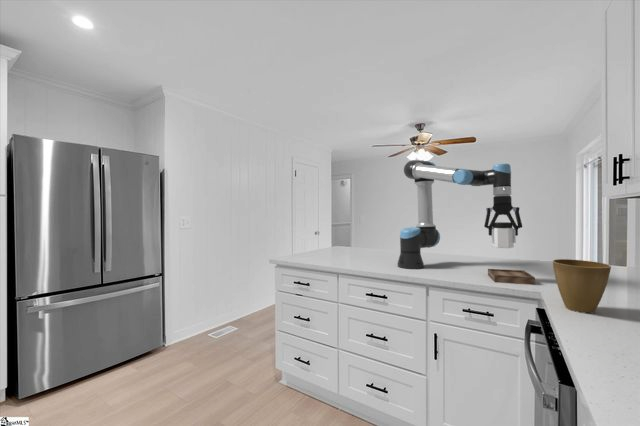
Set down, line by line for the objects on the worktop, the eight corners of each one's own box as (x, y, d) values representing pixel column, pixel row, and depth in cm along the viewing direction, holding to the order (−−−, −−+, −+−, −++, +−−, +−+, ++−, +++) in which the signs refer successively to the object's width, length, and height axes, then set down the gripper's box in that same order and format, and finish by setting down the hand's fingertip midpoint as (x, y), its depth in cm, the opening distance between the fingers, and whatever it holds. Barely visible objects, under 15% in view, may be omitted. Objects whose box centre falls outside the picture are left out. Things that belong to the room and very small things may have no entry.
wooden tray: (494, 282, 140) (494, 275, 140) (487, 275, 155) (487, 268, 155) (535, 284, 135) (535, 277, 135) (523, 277, 150) (523, 270, 150)
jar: (506, 248, 139) (506, 223, 139) (489, 247, 146) (488, 222, 146) (516, 247, 144) (516, 222, 144) (498, 245, 151) (498, 222, 151)
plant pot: (549, 310, 101) (549, 263, 101) (556, 300, 112) (556, 257, 111) (610, 321, 91) (610, 268, 90) (611, 309, 101) (611, 262, 101)
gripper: (479, 196, 145) (479, 242, 145) (530, 194, 138) (531, 243, 138) (476, 197, 152) (477, 241, 152) (525, 195, 145) (526, 242, 145)
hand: (503, 242), depth 145 cm, fingers closed on jar, 8 cm apart
